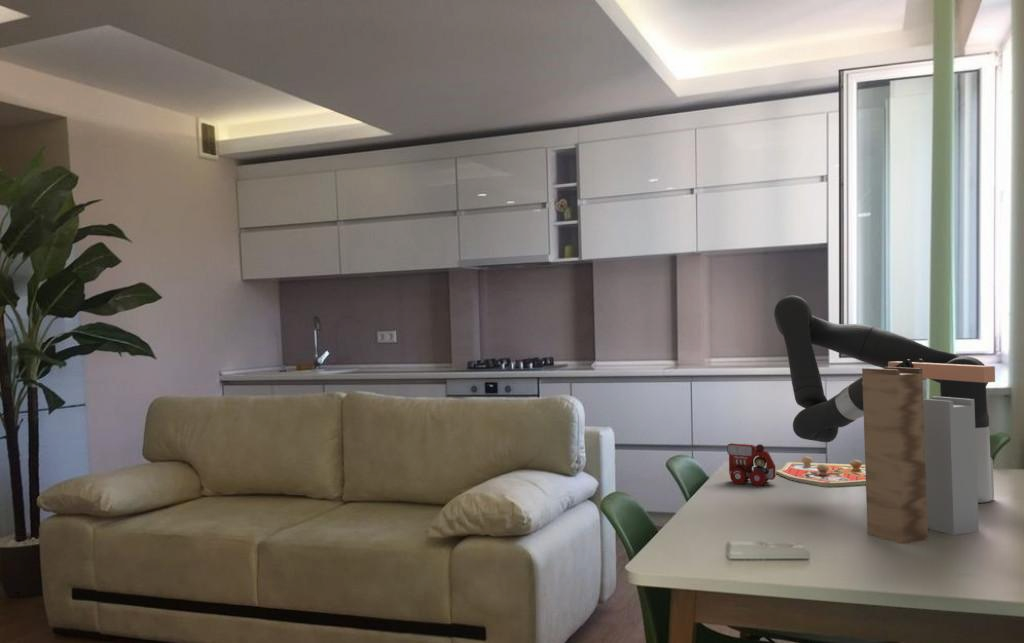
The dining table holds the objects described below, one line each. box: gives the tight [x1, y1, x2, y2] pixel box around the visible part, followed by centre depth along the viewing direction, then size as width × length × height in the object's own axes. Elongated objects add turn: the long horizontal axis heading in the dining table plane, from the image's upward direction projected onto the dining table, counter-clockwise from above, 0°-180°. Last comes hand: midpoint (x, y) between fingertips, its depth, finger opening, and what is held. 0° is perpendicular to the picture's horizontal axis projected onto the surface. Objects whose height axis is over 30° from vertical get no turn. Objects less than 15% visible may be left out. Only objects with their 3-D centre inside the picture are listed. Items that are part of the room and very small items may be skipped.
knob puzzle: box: [775, 455, 866, 488], centre depth 212 cm, size 29×30×4 cm
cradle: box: [923, 395, 980, 536], centre depth 157 cm, size 7×9×26 cm
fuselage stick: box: [888, 361, 996, 383], centre depth 158 cm, size 3×22×3 cm, turn 22°
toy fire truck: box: [726, 442, 777, 487], centre depth 206 cm, size 7×12×10 cm, turn 58°
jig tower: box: [861, 367, 929, 545], centre depth 152 cm, size 7×8×33 cm
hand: (917, 363), depth 162 cm, fingers closed on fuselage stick, 3 cm apart
